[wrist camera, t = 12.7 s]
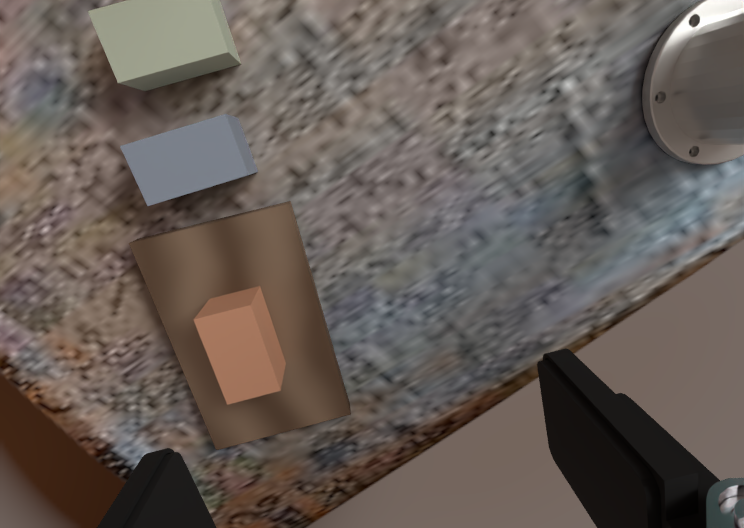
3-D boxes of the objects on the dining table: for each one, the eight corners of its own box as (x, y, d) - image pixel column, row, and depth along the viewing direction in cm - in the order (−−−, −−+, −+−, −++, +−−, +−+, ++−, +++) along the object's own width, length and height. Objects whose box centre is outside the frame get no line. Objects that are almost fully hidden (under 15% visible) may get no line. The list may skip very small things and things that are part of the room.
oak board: (290, 201, 32) (288, 203, 30) (349, 403, 37) (350, 414, 36) (137, 238, 31) (129, 243, 30) (220, 438, 37) (216, 450, 36)
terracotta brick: (209, 298, 32) (193, 319, 28) (259, 285, 32) (250, 304, 28) (238, 375, 34) (227, 404, 30) (285, 363, 34) (280, 390, 30)
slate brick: (238, 118, 30) (225, 114, 26) (258, 171, 31) (248, 175, 27) (146, 146, 30) (119, 146, 26) (169, 198, 31) (147, 206, 27)
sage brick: (220, 2, 28) (203, -21, 24) (241, 64, 29) (228, 51, 25) (120, 30, 28) (87, 11, 24) (145, 91, 29) (117, 82, 25)
